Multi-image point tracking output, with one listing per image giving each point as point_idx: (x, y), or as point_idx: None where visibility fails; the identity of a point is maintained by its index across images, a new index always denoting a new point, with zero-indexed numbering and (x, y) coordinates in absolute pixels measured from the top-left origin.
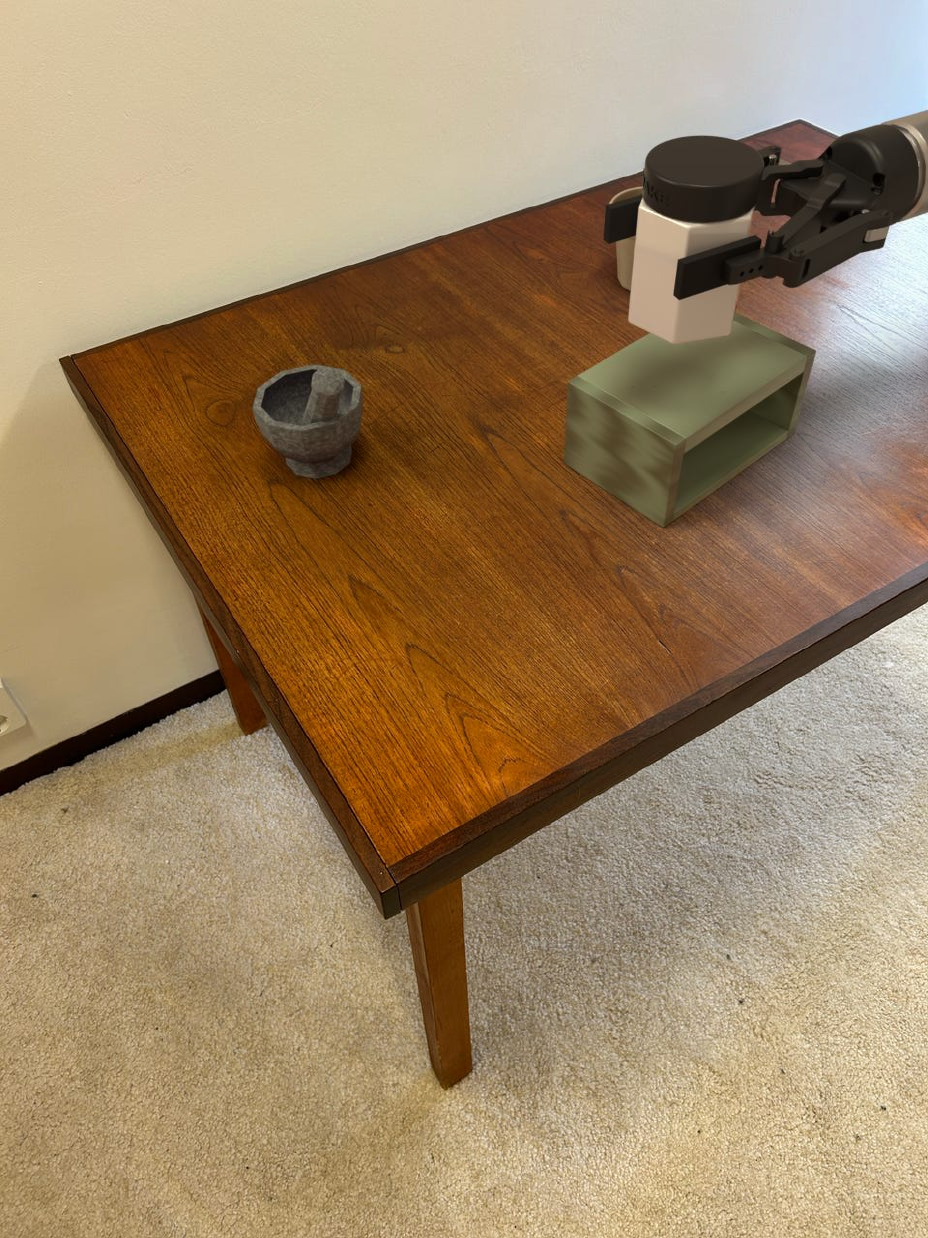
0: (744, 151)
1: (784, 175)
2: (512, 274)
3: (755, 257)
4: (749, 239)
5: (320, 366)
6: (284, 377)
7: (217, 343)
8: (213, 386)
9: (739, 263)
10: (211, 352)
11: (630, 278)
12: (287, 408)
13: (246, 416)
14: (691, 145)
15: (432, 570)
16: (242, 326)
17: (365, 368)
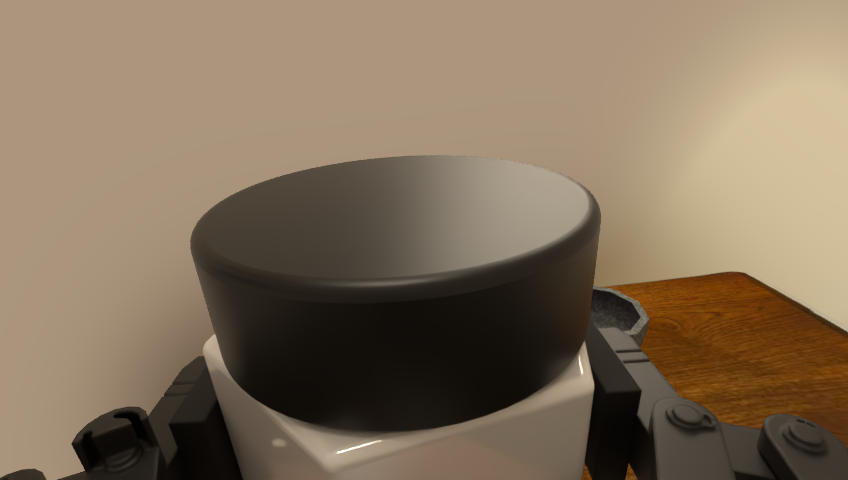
0: (362, 255)
1: None
2: None
3: (165, 414)
4: (205, 397)
5: (644, 321)
6: (630, 304)
7: (785, 334)
8: (704, 324)
9: (188, 371)
10: (766, 329)
11: None
12: (617, 324)
13: (655, 335)
14: (509, 195)
15: None
16: (829, 352)
17: (759, 428)
